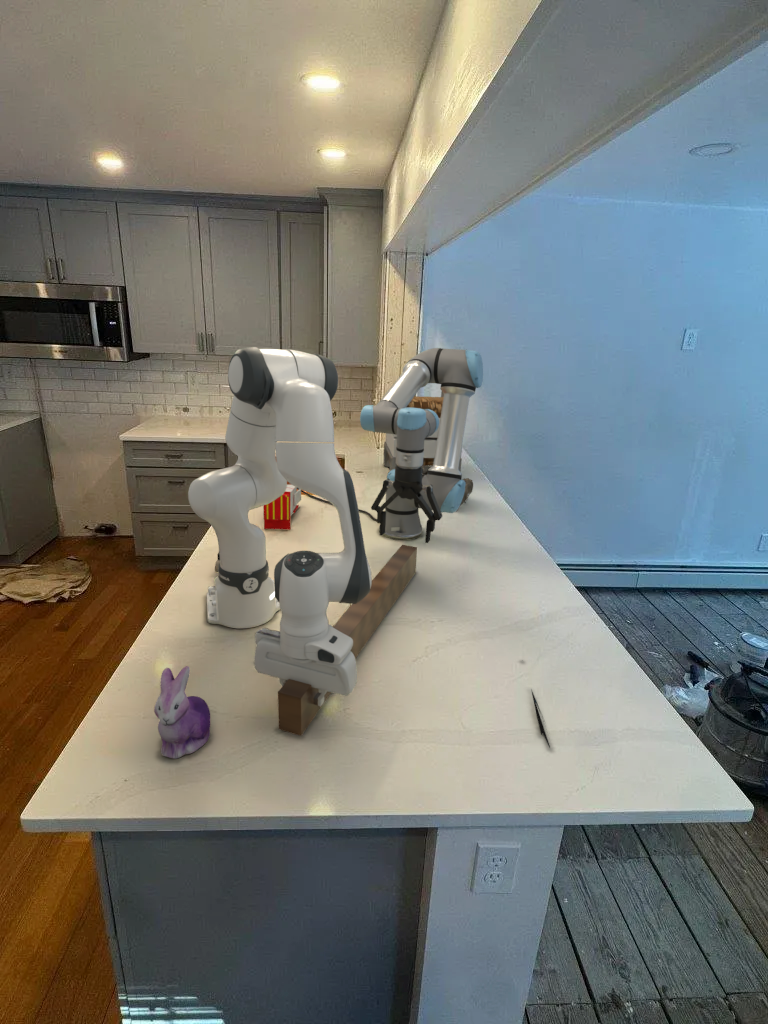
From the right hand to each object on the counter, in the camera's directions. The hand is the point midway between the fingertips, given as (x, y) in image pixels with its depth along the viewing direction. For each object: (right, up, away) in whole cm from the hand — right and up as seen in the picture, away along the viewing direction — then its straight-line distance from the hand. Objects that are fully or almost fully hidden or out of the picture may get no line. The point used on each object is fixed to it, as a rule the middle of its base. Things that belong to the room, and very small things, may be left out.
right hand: (404, 537), depth 162 cm
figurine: (-41, -34, -60) cm, 81 cm away
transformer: (+11, +26, +113) cm, 117 cm away
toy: (-44, +6, +49) cm, 66 cm away
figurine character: (-51, -10, +6) cm, 52 cm away
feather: (+25, -32, -45) cm, 61 cm away
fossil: (+24, +11, +73) cm, 77 cm away
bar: (-11, -22, -24) cm, 34 cm away
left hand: (-21, -29, -53) cm, 64 cm away
